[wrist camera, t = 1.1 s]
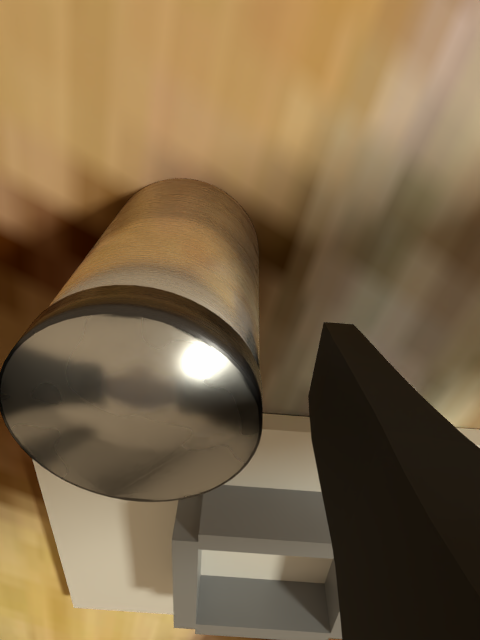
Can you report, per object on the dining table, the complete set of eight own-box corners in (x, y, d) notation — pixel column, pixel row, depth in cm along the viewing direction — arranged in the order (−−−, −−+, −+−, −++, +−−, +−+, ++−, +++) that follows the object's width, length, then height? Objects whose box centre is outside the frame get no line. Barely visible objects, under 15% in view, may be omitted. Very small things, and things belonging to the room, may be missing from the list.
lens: (267, 183, 12) (276, 324, 6) (253, 319, 15) (250, 510, 9) (104, 170, 12) (-35, 299, 6) (117, 308, 15) (26, 493, 9)
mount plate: (547, 434, 17) (596, 503, 15) (429, 616, 25) (448, 680, 23) (28, 396, 17) (-12, 460, 14) (78, 592, 25) (59, 654, 23)
